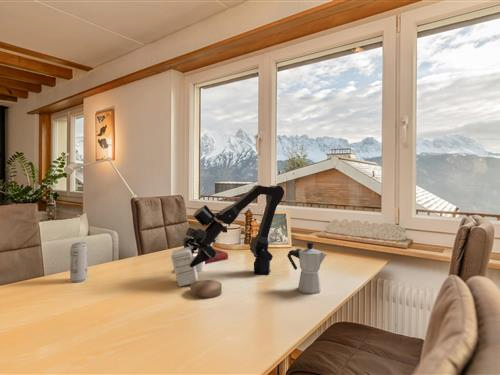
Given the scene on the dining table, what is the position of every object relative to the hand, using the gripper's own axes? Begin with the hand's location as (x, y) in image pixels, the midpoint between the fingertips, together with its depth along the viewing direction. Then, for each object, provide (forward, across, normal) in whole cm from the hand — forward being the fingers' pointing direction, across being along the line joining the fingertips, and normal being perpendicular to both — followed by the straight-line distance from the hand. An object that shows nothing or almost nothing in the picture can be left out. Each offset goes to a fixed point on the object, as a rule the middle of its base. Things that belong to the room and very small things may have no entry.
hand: (184, 263), depth 122 cm
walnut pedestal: (+4, +14, +7) cm, 16 cm away
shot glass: (-4, -14, +15) cm, 21 cm away
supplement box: (+4, 0, +6) cm, 7 cm away
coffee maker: (-19, +33, +29) cm, 48 cm away
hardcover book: (-12, -27, +24) cm, 38 cm away
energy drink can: (+29, -29, -16) cm, 44 cm away
